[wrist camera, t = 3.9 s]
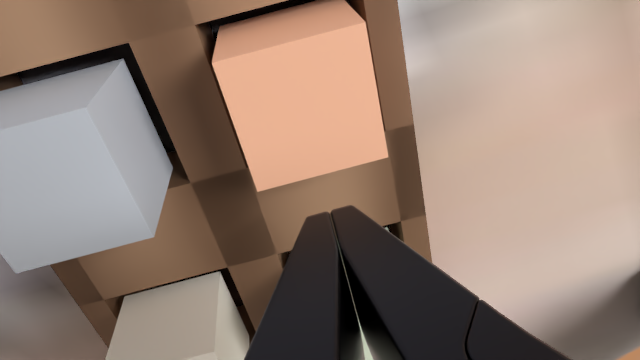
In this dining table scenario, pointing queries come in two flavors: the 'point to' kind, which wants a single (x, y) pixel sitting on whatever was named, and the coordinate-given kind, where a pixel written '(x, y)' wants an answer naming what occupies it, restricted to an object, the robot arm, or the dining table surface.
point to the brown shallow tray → (215, 150)
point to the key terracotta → (301, 91)
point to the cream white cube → (180, 323)
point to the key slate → (77, 167)
